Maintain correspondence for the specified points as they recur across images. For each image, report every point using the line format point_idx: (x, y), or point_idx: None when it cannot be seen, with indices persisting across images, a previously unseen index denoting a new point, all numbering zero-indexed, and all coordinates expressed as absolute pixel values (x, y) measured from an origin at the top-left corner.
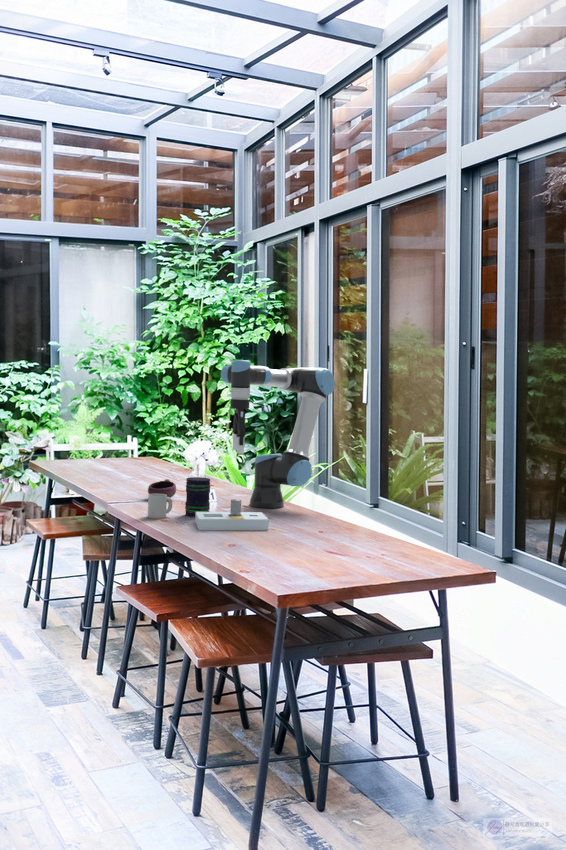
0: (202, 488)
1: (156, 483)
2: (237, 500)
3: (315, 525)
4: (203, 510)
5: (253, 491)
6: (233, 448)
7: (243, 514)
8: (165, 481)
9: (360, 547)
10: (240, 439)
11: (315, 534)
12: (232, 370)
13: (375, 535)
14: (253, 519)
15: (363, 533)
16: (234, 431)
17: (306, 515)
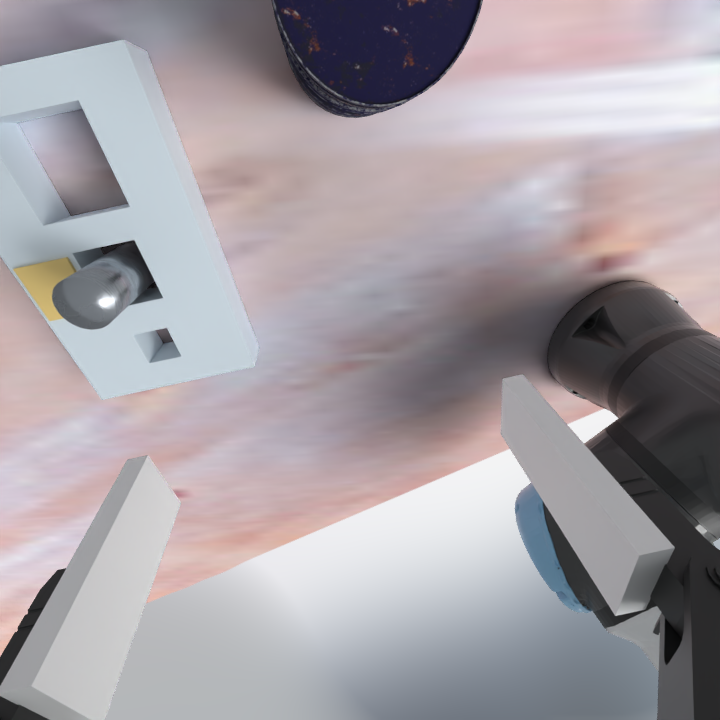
0: (286, 48)
1: None
2: (69, 312)
3: (264, 479)
4: (299, 83)
5: (657, 316)
6: (512, 396)
7: (166, 306)
8: None
9: (12, 565)
10: (3, 671)
11: None
12: None
13: (183, 576)
14: (68, 352)
15: (197, 560)
16: (687, 628)
17: (423, 452)
